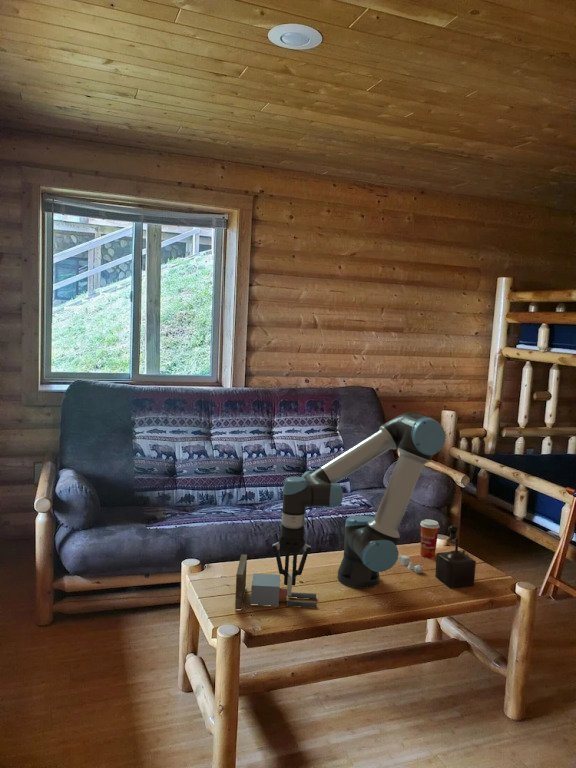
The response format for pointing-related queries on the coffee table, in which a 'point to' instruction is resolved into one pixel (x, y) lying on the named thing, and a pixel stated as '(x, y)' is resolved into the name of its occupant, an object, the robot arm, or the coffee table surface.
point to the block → (265, 589)
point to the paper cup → (429, 537)
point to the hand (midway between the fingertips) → (289, 594)
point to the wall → (240, 581)
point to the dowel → (282, 594)
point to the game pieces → (405, 561)
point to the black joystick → (455, 565)
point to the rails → (302, 603)
